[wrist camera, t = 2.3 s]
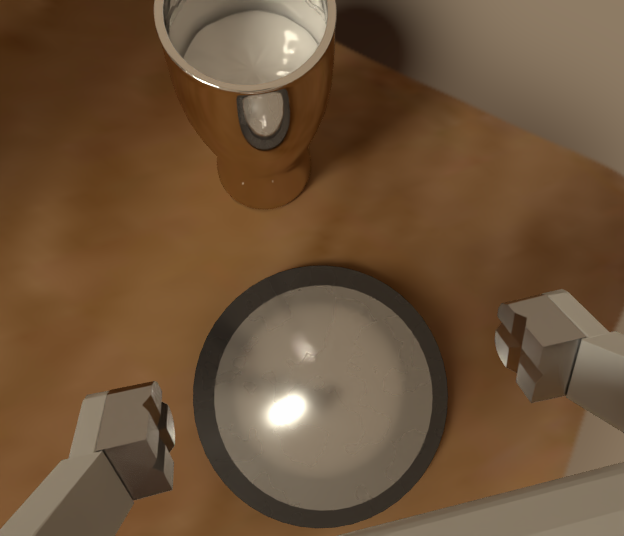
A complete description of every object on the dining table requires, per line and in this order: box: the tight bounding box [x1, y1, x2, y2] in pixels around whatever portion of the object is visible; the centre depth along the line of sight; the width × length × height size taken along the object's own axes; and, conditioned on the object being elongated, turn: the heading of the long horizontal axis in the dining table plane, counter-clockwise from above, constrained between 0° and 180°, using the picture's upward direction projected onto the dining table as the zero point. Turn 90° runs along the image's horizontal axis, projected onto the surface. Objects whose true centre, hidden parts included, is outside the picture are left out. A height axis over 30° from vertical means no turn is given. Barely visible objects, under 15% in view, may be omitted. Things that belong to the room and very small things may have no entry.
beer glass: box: [154, 0, 337, 209], centre depth 25 cm, size 7×7×15 cm
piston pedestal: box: [193, 266, 448, 528], centre depth 29 cm, size 15×15×3 cm
